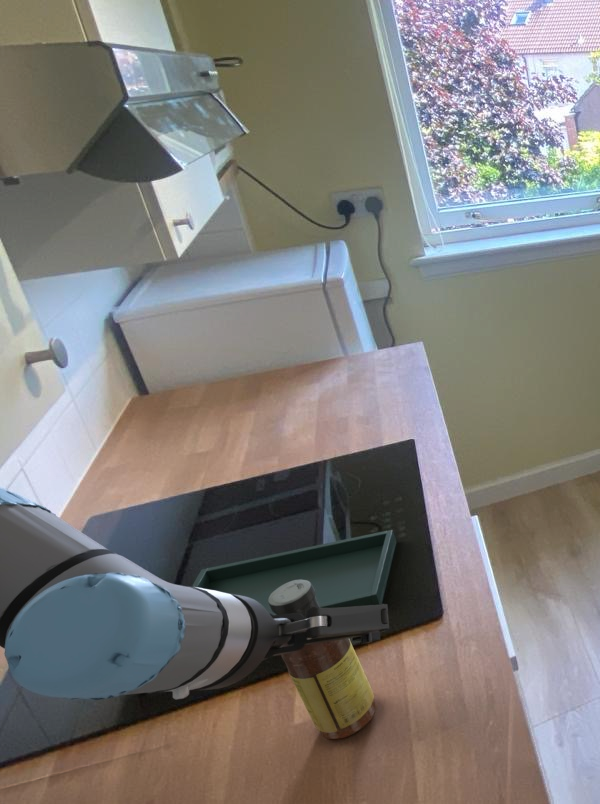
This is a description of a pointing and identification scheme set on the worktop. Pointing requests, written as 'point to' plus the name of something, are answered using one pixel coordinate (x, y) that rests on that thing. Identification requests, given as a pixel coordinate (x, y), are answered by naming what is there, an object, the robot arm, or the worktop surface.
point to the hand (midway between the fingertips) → (305, 645)
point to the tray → (313, 572)
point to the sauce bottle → (325, 671)
